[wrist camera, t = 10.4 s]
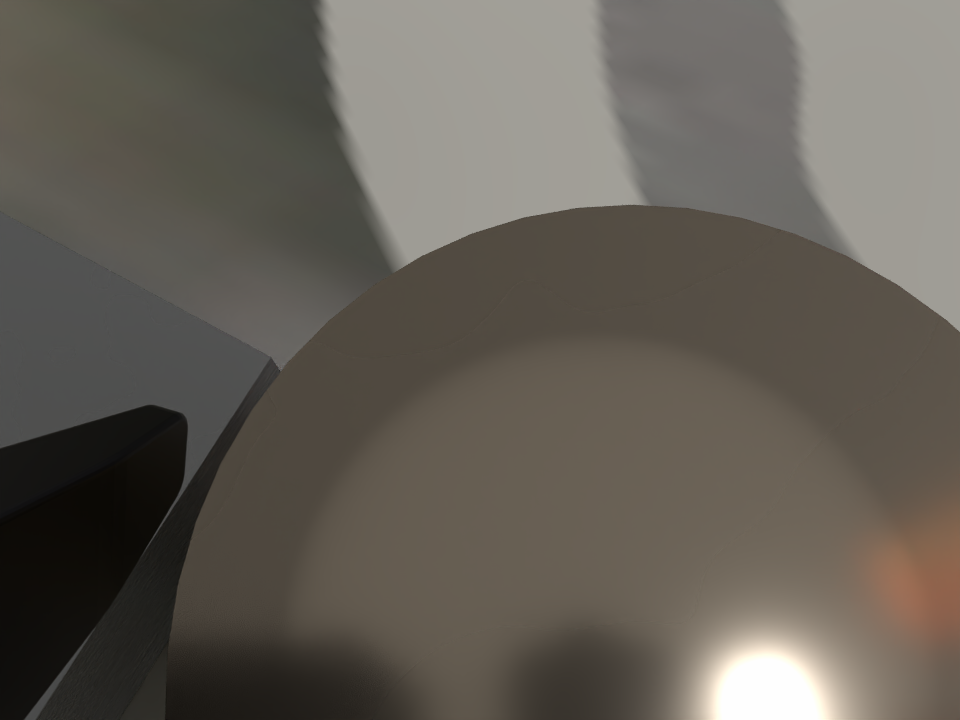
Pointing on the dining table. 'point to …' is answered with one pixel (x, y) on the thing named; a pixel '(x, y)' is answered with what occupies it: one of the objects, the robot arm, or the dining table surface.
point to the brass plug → (592, 491)
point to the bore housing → (107, 391)
